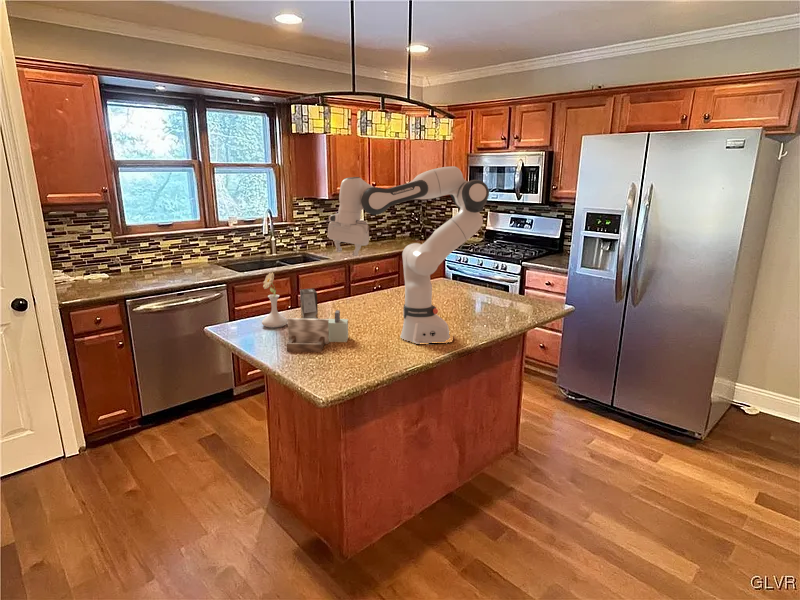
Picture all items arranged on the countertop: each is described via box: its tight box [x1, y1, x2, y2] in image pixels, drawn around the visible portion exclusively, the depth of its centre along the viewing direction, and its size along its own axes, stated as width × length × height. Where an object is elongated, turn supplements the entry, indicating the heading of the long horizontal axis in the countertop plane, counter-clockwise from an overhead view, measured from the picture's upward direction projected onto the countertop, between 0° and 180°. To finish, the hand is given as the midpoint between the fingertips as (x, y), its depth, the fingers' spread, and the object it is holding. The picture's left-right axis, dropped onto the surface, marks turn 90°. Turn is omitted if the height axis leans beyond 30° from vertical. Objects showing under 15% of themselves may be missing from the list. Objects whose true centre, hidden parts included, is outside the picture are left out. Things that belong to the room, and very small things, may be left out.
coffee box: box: [299, 288, 319, 319], centre depth 211 cm, size 9×6×16 cm
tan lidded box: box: [286, 317, 330, 353], centre depth 185 cm, size 16×11×10 cm
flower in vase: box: [261, 271, 288, 328], centre depth 208 cm, size 13×11×25 cm
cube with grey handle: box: [327, 309, 349, 343], centre depth 194 cm, size 8×6×12 cm
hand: (346, 253), depth 189 cm, fingers open, 8 cm apart
